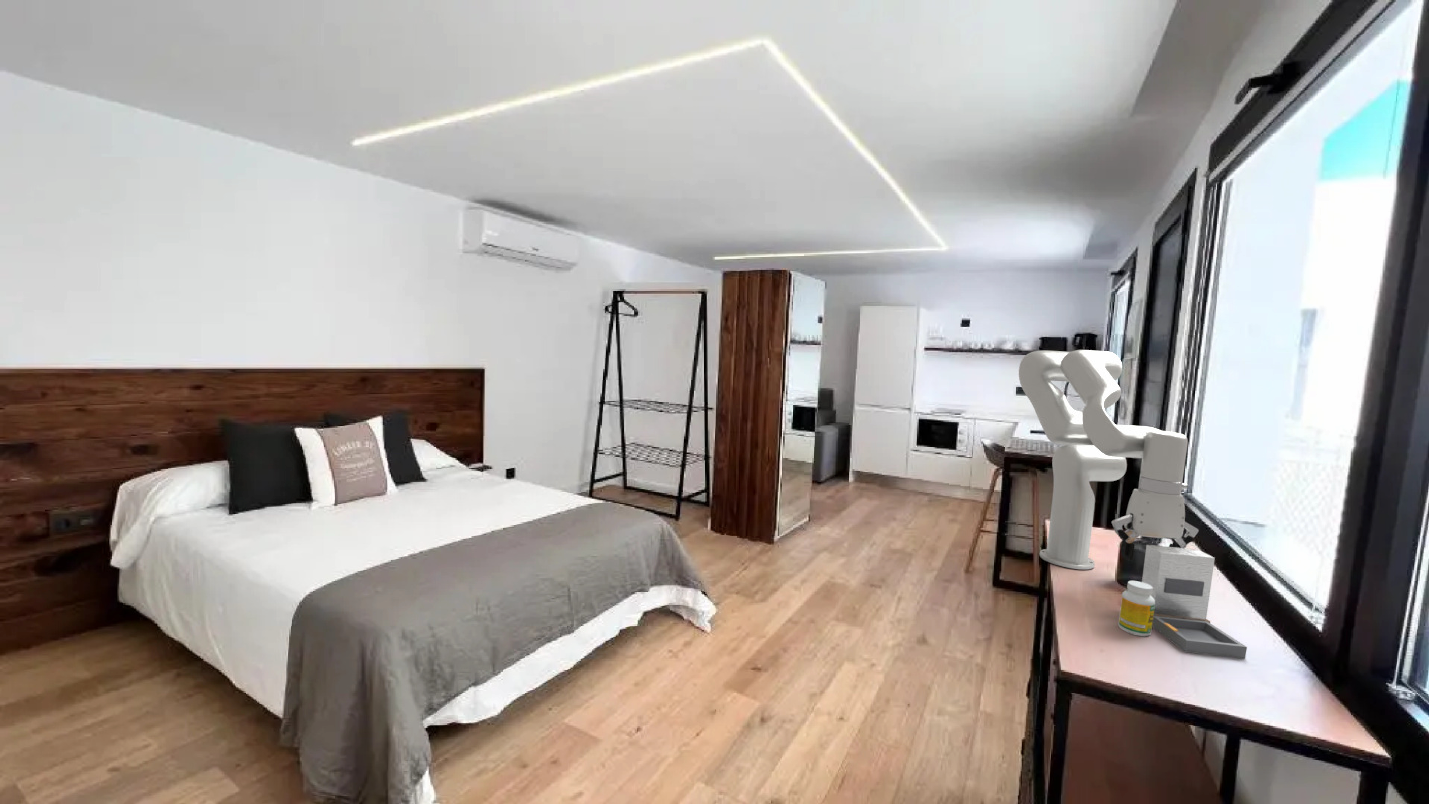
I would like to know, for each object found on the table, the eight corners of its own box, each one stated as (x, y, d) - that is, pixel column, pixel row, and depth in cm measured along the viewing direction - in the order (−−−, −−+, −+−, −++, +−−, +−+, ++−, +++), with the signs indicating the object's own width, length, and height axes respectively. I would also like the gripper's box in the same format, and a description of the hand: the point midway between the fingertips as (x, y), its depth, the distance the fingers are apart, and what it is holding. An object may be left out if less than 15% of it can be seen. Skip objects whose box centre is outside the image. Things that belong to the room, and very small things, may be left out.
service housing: (1134, 609, 125) (1142, 543, 124) (1189, 615, 124) (1198, 548, 123) (1151, 622, 119) (1160, 553, 118) (1209, 628, 118) (1219, 558, 117)
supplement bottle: (1117, 621, 119) (1123, 576, 118) (1149, 629, 116) (1155, 583, 115) (1118, 631, 114) (1124, 585, 114) (1152, 640, 112) (1158, 592, 111)
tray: (1151, 626, 118) (1152, 614, 117) (1205, 631, 116) (1207, 620, 116) (1184, 651, 108) (1186, 639, 107) (1245, 658, 106) (1247, 646, 106)
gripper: (1190, 486, 131) (1180, 559, 132) (1108, 479, 133) (1099, 551, 134) (1214, 494, 123) (1203, 571, 125) (1127, 487, 125) (1118, 563, 127)
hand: (1149, 560), depth 130 cm, fingers open, 9 cm apart
